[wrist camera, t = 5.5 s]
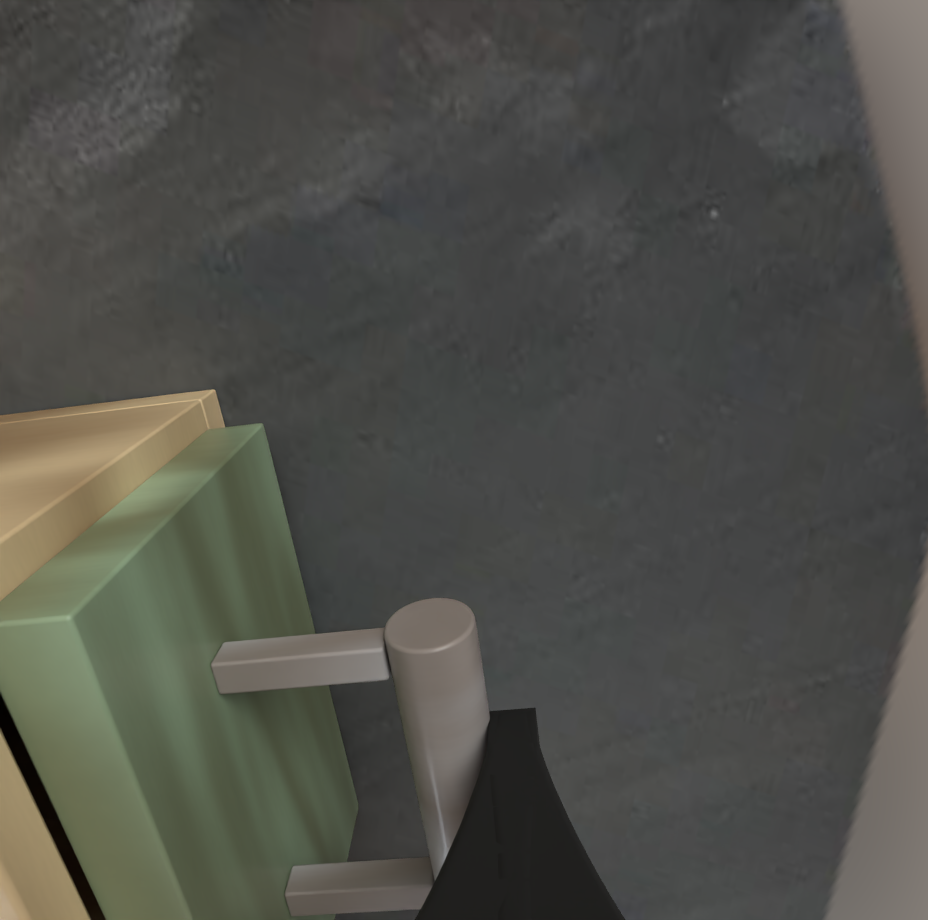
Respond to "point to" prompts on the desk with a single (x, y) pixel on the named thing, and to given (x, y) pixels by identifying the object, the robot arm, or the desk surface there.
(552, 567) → the desk surface
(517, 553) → the desk surface
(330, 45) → the desk surface
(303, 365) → the desk surface
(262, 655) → the drawer
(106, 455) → the cabinet
